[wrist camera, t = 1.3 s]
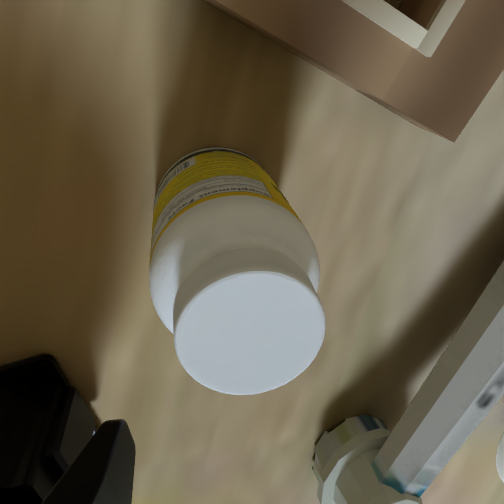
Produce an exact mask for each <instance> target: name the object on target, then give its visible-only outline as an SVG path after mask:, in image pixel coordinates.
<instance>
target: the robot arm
mask: <svg viewBox="0 0 504 504" xmlns="http://www.w3.org/2000/svg"><path fill="white" fill-rule="evenodd" d="M43 363H45V364H47V365H48V366H43V365H41V364H43ZM135 453H136V452H135V443H134V440H133V438H132V435H131V433H130V430H129V427H128V425H127V423H126V421H125V420H123V419H117V420H108V421H105V422H104V423H102V424H101V426H100V427H99V428H98V429H97V427H96V426H95V419H94V417H93V415H92V413H91V412H90V410H89V408H88V407H87V405H86V403H85V402H84V400H83V398H82V397H81V395H80V393H79V392H78V390H77V388H75V387H73V386H71V384H70V382H69V381H68V379H67V377H66V376H65V374H64V372H63V371H62V369H61V367H60V366H59V364H58V362H57V361H56V359H55V358H54V357H53V356H51V355H48V354H41V355H38V356H35V357H31V358H28V359H25V360H21V361H18V362H15V363H11V364H8V365H5V366H1V367H0V504H131V502H132V490H133V478H134V466H135Z"/></svg>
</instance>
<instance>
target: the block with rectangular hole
mask: <svg viewBox="0 0 504 504" xmlns="http://www.w3.org/2000/svg"><path fill="white" fill-rule="evenodd" d="M204 1H206V2H207V3H209V4H211V5H212V6H214V7H216V8H217V9H219V10H221V11H223V12H224V13H226V14H228V15H229V16H231V17H233V18H234V19H236V20H238V21H239V22H241V23H243V24H245V25H246V26H248V27H250V28H251V29H253V30H255V31H256V32H258V33H260V34H262V35H263V36H265V37H267V38H268V39H270V40H272V41H273V42H275V43H277V44H279V45H280V46H282V47H284V48H285V49H287V50H289V51H290V52H292V53H294V54H295V55H297V56H299V57H301V58H302V59H304V60H306V61H307V62H309V63H311V64H312V65H314V66H316V67H318V68H319V69H321V70H323V71H324V72H326V73H328V74H329V75H331V76H333V77H335V78H336V79H338V80H340V81H341V82H343V83H345V84H346V85H348V86H350V87H351V88H353V89H355V90H357V91H358V92H360V93H362V94H363V95H365V96H367V97H368V98H370V99H372V100H374V101H375V102H377V103H379V104H380V105H382V106H384V107H385V108H387V109H389V110H391V111H392V112H394V113H396V114H397V115H399V116H401V117H402V118H404V119H406V120H407V121H409V122H411V123H413V124H414V125H416V126H418V127H420V128H422V129H425V130H427V131H429V132H432V133H434V134H436V135H439V136H441V137H443V138H445V139H448V140H450V141H452V142H455V140H456V139H457V137H458V136H459V135H460V133H461V132H462V130H463V129H464V127H465V126H466V124H467V123H468V121H469V120H470V118H471V117H472V115H473V114H474V112H475V111H476V109H477V108H478V106H479V105H480V103H481V102H482V100H483V99H484V97H485V96H486V94H487V93H488V91H489V90H490V88H491V87H492V85H493V84H494V83H495V81H496V80H497V78H498V77H499V75H500V74H501V72H502V71H503V69H504V0H403V2H402V4H401V6H400V7H399V9H398V10H397V9H395V8H394V7H392V6H391V5H390V4H388V3H387V2H385V1H384V0H204Z"/></svg>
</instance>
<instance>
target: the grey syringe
mask: <svg viewBox="0 0 504 504" xmlns="http://www.w3.org/2000/svg"><path fill="white" fill-rule="evenodd" d="M503 394H504V260H503V262H502V264H501V265H500V267H499V268H498V270H497V271H496V273H495V274H494V276H493V277H492V279H491V280H490V282H489V283H488V285H487V287H486V288H485V290H484V291H483V293H482V294H481V296H480V297H479V299H478V300H477V302H476V303H475V305H474V306H473V308H472V310H471V311H470V313H469V314H468V316H467V317H466V319H465V320H464V322H463V323H462V325H461V326H460V328H459V329H458V331H457V332H456V334H455V336H454V337H453V339H452V340H451V342H450V343H449V345H448V346H447V348H446V349H445V351H444V352H443V354H442V355H441V357H440V359H439V360H438V362H437V363H436V365H435V366H434V368H433V369H432V371H431V372H430V374H429V375H428V377H427V378H426V380H425V382H424V383H423V385H422V386H421V388H420V389H419V391H418V392H417V394H416V395H415V397H414V398H413V400H412V401H411V403H410V405H409V406H408V408H407V409H406V411H405V412H404V414H403V415H402V417H401V418H400V420H399V421H398V423H397V424H396V426H395V428H394V429H393V431H389V430H388V429H387V428H386V426H385V425H384V424H383V422H382V421H381V420H380V419H377V418H374V417H371V416H368V415H361V416H356V417H351V418H346V419H345V421H344V422H343V423H342V424H340V425H339V426H338V427H336V428H335V429H334V430H332V431H331V432H329V431H325V432H324V434H323V435H322V437H321V438H320V440H319V442H318V443H317V445H316V446H315V448H314V451H315V453H316V454H315V463H314V466H313V467H312V469H313V471H314V473H315V475H316V478H317V480H318V482H319V485H318V493H317V497H318V499H319V501H320V504H422V500H421V497H420V496H421V495H422V493H423V492H424V491H425V490H426V489H427V487H428V486H429V485H430V484H431V482H432V481H433V480H434V479H435V477H436V476H437V475H438V474H439V473H440V471H441V470H442V469H443V468H444V466H445V465H446V464H447V463H448V461H449V460H450V459H451V458H452V457H453V455H454V454H455V453H456V452H457V450H458V449H459V448H460V447H461V446H462V444H463V443H464V442H465V441H466V439H467V438H468V437H469V436H470V434H471V433H472V432H473V431H474V430H475V428H476V427H477V426H478V425H479V423H480V422H481V421H482V420H483V418H484V417H485V416H486V415H487V414H488V412H489V411H490V410H491V409H492V407H493V406H494V405H495V404H496V403H497V401H498V400H499V399H500V398H501V396H502V395H503Z"/></svg>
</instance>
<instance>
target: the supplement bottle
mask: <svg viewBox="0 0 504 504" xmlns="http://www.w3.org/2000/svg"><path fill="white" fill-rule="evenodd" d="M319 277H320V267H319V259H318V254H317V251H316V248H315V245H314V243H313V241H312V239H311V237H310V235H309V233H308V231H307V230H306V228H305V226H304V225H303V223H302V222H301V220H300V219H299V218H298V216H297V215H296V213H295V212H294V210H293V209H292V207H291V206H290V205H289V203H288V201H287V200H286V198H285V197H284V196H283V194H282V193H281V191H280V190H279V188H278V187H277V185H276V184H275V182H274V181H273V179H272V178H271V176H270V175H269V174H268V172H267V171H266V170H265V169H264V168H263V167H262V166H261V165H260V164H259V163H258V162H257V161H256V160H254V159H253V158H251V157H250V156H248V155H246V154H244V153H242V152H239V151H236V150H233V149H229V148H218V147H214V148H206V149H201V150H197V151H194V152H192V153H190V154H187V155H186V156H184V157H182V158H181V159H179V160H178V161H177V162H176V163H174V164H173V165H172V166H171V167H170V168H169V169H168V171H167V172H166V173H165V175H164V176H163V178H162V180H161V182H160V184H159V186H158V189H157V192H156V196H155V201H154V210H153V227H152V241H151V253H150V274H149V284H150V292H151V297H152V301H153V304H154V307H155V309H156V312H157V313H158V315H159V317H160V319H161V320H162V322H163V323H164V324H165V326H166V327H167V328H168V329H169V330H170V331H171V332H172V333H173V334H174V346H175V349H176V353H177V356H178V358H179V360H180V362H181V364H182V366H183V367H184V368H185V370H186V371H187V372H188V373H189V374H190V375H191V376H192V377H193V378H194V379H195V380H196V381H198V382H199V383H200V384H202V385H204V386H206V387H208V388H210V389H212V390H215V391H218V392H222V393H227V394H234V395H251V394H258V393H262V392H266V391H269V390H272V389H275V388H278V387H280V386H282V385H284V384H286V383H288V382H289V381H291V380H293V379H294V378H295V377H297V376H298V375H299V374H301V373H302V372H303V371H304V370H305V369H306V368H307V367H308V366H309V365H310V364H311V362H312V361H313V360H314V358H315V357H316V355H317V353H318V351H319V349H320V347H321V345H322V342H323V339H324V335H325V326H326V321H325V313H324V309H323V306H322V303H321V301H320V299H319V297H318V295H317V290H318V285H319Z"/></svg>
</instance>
